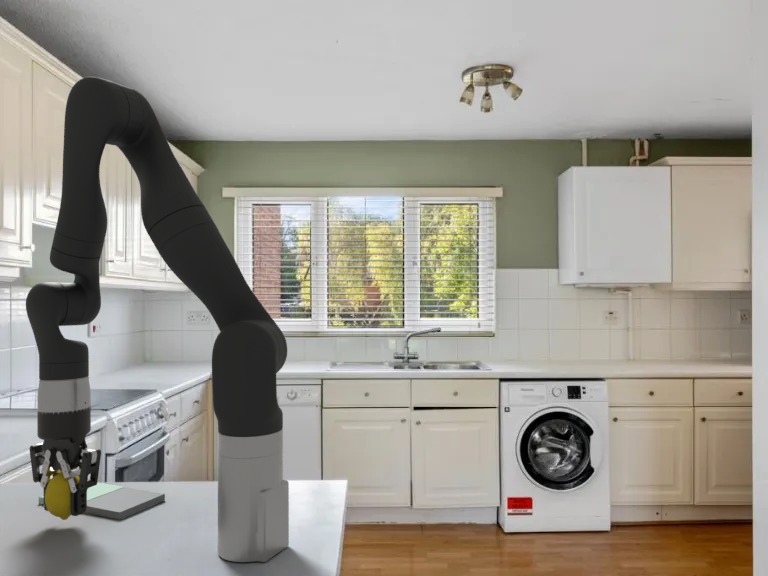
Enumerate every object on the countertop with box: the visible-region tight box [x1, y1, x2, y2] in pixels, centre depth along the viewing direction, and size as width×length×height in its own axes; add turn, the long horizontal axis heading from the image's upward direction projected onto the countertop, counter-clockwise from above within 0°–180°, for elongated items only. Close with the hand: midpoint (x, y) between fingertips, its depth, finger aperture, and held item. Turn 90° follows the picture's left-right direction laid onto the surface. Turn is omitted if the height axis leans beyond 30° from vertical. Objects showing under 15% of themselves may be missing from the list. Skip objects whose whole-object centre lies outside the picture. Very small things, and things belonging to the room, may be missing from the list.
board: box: [38, 482, 166, 520], centre depth 104 cm, size 20×10×1 cm, turn 66°
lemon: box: [45, 472, 80, 521], centre depth 92 cm, size 6×6×8 cm
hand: (64, 511), depth 92 cm, fingers closed on lemon, 5 cm apart
